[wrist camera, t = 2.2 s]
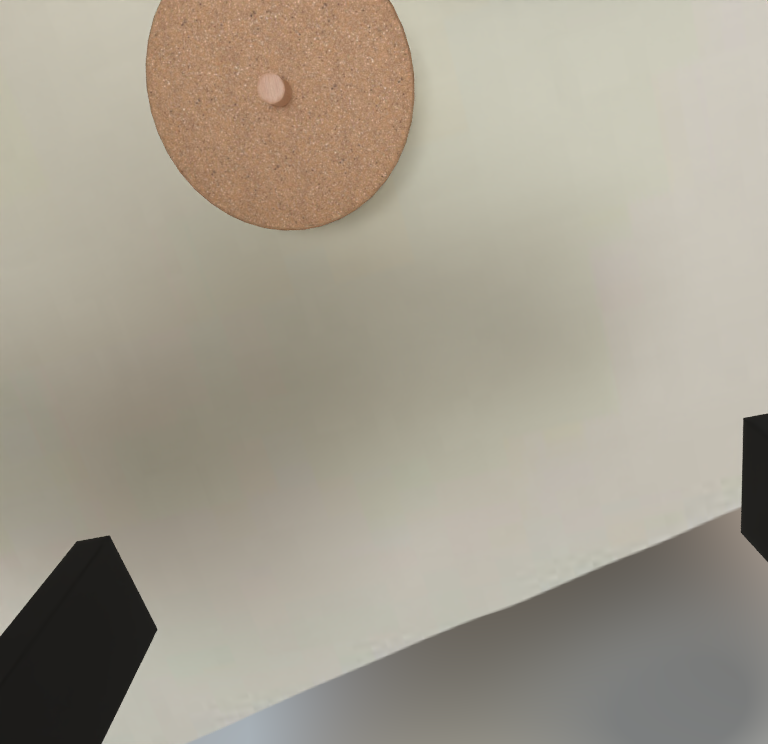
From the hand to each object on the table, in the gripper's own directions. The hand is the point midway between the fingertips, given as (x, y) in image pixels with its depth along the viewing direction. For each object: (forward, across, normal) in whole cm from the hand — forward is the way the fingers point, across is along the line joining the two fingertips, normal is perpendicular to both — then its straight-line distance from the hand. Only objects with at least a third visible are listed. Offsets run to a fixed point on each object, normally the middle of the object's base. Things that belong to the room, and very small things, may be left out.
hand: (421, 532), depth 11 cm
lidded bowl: (+23, -3, +10) cm, 25 cm away
